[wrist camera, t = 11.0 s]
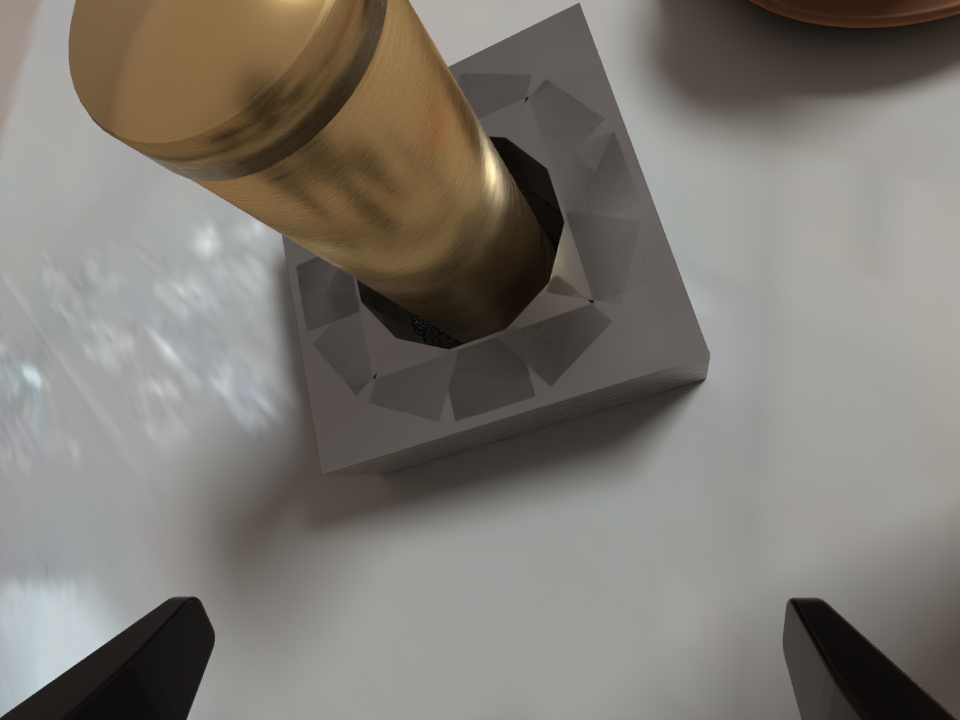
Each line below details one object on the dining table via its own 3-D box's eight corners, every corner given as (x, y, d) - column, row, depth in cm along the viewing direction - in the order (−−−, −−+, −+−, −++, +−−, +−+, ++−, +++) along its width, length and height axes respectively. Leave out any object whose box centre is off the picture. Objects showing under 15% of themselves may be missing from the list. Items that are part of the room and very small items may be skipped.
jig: (706, 378, 17) (709, 354, 14) (380, 475, 20) (321, 474, 17) (596, 78, 20) (579, 2, 17) (328, 200, 23) (269, 155, 20)
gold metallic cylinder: (489, 377, 20) (166, 210, 7) (398, 288, 21) (22, 40, 9) (590, 266, 19) (420, -99, 7) (489, 185, 21) (217, -215, 9)
